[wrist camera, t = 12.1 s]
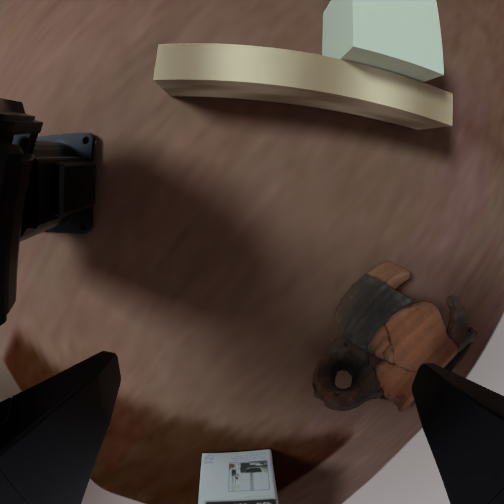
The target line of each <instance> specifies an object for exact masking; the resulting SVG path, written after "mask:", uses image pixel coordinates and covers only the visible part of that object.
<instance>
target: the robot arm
mask: <svg viewBox="0 0 504 504" xmlns="http://www.w3.org/2000/svg"><path fill="white" fill-rule="evenodd" d="M34 119H35V116H31V115H27V114H25V111H24V107H23V104H22V102H17V101H12V100H7V99H1V98H0V325H2V324H3V323H5V322H6V320H7V314H8V313H9V311H10V309H11V308H12V306H13V305H14V303H15V301H16V287H17V267H18V254H19V243H20V242H21V241H23V240H25V239H27V238H30V237H32V236H34V235H37V234H39V233H41V232H44V231H49V232H64V233H78V234H86V233H88V232H90V231H91V230H92V227H93V213H92V205H93V204H94V203H95V172H96V165H95V163H94V148H95V137H94V135H93V134H92V133H74V134H61V135H51V136H42V137H37V136H38V133H40V131H41V128H42V125H43V122H40V121H36V120H34ZM87 137H88V138H89V142H88V143H87V144H86V143H85V139H86V138H87ZM83 223H86V225H87V229H85V228H84V227H83ZM120 382H121V375H120V369H119V363H118V357H117V355H116V354H115V353H112V352H107V351H102V352H99V353H98V354H96V355H94V356H92V357H90V358H88V359H86V360H84V361H82V362H80V363H78V364H76V365H74V366H72V367H70V368H68V369H66V370H64V371H62V372H60V373H58V374H56V375H54V376H52V377H50V378H48V379H46V380H44V381H42V382H40V383H38V384H36V385H34V386H32V387H30V388H28V389H26V390H24V391H22V392H20V393H19V394H16V395H14V396H13V397H12V398H8V399H6V400H4V401H2V402H0V504H81V502H82V499H83V496H84V494H85V491H86V488H87V485H88V482H89V479H90V476H91V473H92V471H93V468H94V465H95V462H96V460H97V457H98V454H99V451H100V449H101V446H102V443H103V441H104V438H105V436H106V433H107V430H108V427H109V424H110V421H111V417H112V413H113V409H114V405H115V401H116V398H117V394H118V390H119V386H120ZM411 389H412V394H413V397H414V400H415V404H416V407H417V410H418V414H419V417H420V421H421V424H422V427H423V430H424V432H425V435H426V438H427V440H428V443H429V445H430V448H431V451H432V453H433V456H434V458H435V461H436V464H437V466H438V469H439V472H440V475H441V477H442V480H443V483H444V486H445V489H446V492H447V495H448V498H449V501H450V504H504V396H502V395H500V394H498V393H496V392H493V391H491V390H489V389H487V388H485V387H482V386H481V385H478V384H476V383H474V382H472V381H470V380H467V379H466V378H464V377H462V376H459V375H457V374H455V373H453V372H451V371H449V370H447V369H445V368H443V367H441V366H439V365H436V364H434V363H424V364H421V365H420V367H419V369H418V371H417V373H416V376H415V378H414V381H413V383H412V388H411Z"/></svg>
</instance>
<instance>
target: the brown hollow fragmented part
mask: <svg viewBox="0 0 504 504" xmlns="http://www.w3.org/2000/svg"><path fill="white" fill-rule="evenodd" d="M409 279H410V272H409V271H408V270H406V269H405V268H402V267H400V266H398V265H396V264H394V263H392V262H390V261H387V262H384V263H381V264H379V265H378V266H376V267H374V268H373V269H372V270H371V271H369V272H368V273H367V274H365V275H364V276H363V277H362V278H361V279H359V281H358V282H356V283H355V284H353V286H352V287H351V289H350V290H349V291H348V292H347V293H346V294H345V296H344V297H343V298H342V300H341V302H340V305H339V306H338V308H337V311H336V313H335V319H336V321H337V323H338V325H339V330H340V332H341V336H342V337H341V338H336V339H335V342H334V345H333V347H332V348H331V349H330V350H329V351H328V352H327V353H326V354H325V355H324V356H323V358H322V359H321V360H320V362H319V363H318V365H317V367H316V369H315V372H314V376H313V383H312V384H313V388H314V396H315V397H317V398H319V399H321V400H322V401H323V402H324V404H325V406H326V407H328V408H330V409H333V410H338V411H346V410H350V409H353V408H356V407H358V406H359V405H361V404H363V403H364V402H366V401H368V400H370V399H378V398H379V397H380V396H381V395H382V396H381V397H380V400H383V401H390V402H393V403H394V404H395V405H396V406H397V407H398V409H399V411H400V412H404V411H406V410H407V409H409V408H411V407H412V406H414V405H415V400H414V397H413V394H412V389H411V388H412V383H413V381H414V378H415V376H416V373H417V371H418V369H419V367H420V365H421V364H424V363H434V364H436V365H439V366H441V367H443V368H445V369H447V370H449V371H451V372H452V371H453V369H454V368H455V367H456V366H457V365H458V363H459V362H460V361H461V360H462V359H463V357H464V356H465V355H466V353H467V352H468V350H469V349H470V347H471V346H472V344H473V342H474V340H475V339H476V337H477V332H476V331H475V330H474V329H473V328H472V327H471V328H470V327H469V326H468V325H467V317H466V314H465V310H464V308H463V307H462V306H461V304H460V302H459V300H458V298H457V297H454V296H448V297H447V304H448V306H449V308H450V312H449V315H450V319H449V324H448V328H447V331H446V328H445V325H444V323H443V319H442V317H441V315H440V312H439V310H438V308H437V306H435V305H433V304H431V303H430V302H426V301H424V302H419V303H416V304H415V303H414V300H412V299H410V298H409V297H407V296H405V295H403V294H401V293H400V292H398V291H395V289H396V288H397V287H398V286H399V285H401V284H402V283H404V282H405V281H407V280H409ZM368 353H371V354H373V355H374V356H376V357H378V358H380V359H381V360H380V361H379V362H378V363H377V364H376V367H375V368H373V367H372V366H370V365H369V357H368ZM340 370H345V371H347V372H348V373H349V374H350V375H351V376H352V383H351V386H350V387H349V388H346V389H340V388H337V387H336V386H335V377H336V374H337V372H338V371H340Z"/></svg>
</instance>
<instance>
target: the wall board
mask: <svg viewBox="0 0 504 504" xmlns="http://www.w3.org/2000/svg"><path fill="white" fill-rule="evenodd" d="M153 80H154V81H155V82H156V83H157V84H158V85H159V86H160V87H161V88H162V89H163V90H165V91H166V92H167V93H168V94H169V95H170V96H197V97H222V98H238V99H250V100H261V101H271V102H280V103H288V104H295V105H302V106H309V107H316V108H322V109H328V110H333V111H339V112H344V113H349V114H354V115H359V116H364V117H368V118H373V119H377V120H381V121H385V122H389V123H393V124H397V125H401V126H405V127H409V128H412V129H416V130H422V129H430V128H439V127H448V126H452V117H453V94H452V93H449V92H447V91H444V90H442V89H439V88H437V87H434V86H431V85H429V84H426V83H423V82H420V81H417V80H415V79H412V78H409V77H406V76H402V75H399V74H396V73H393V72H389V71H386V70H382V69H379V68H375V67H372V66H368V65H364V64H360V63H356V62H351V61H347V60H343V59H338V58H333V57H328V56H323V55H318V54H312V53H306V52H300V51H293V50H286V49H278V48H269V47H260V46H248V45H234V44H208V43H180V44H159V46H158V51H157V58H156V64H155V70H154V77H153Z"/></svg>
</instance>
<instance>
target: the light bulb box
mask: <svg viewBox="0 0 504 504" xmlns="http://www.w3.org/2000/svg"><path fill="white" fill-rule="evenodd" d="M198 504H279V502H278V495H277V489H276V483H275V476H274V469H273V462H272V454H271V450H270V449H266V450H256V451H244V452H227V453H203V454H202V463H201V475H200V487H199V499H198Z"/></svg>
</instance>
